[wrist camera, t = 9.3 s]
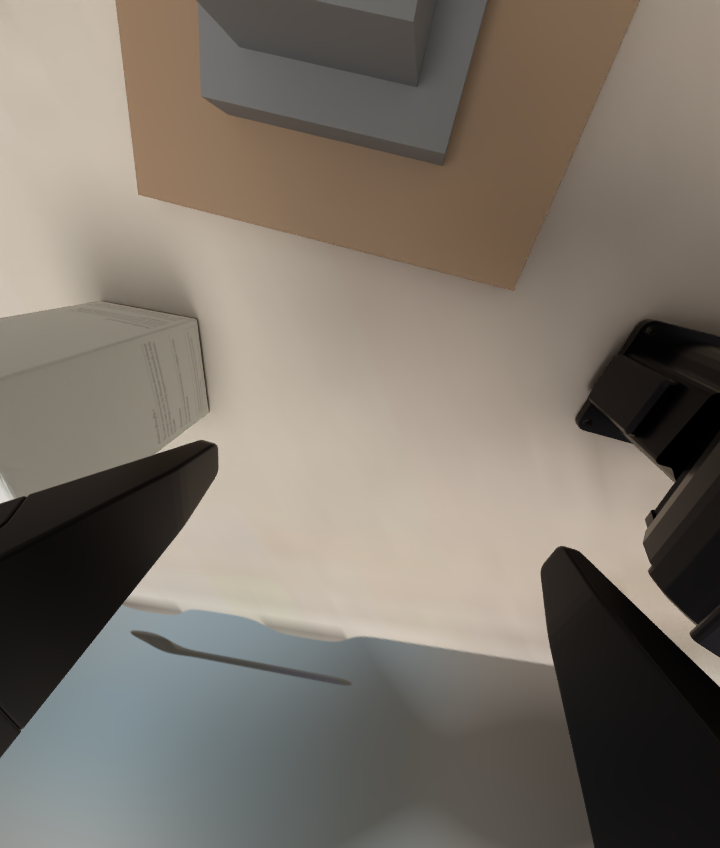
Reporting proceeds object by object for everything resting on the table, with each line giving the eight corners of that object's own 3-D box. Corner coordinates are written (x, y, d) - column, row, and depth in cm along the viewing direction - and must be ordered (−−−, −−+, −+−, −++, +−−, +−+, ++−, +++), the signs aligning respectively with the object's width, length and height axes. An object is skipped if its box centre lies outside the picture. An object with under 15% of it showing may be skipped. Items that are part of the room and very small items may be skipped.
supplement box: (98, 297, 21) (-246, 347, 10) (200, 317, 21) (-52, 393, 10) (123, 396, 25) (-111, 509, 14) (211, 416, 24) (37, 550, 13)
